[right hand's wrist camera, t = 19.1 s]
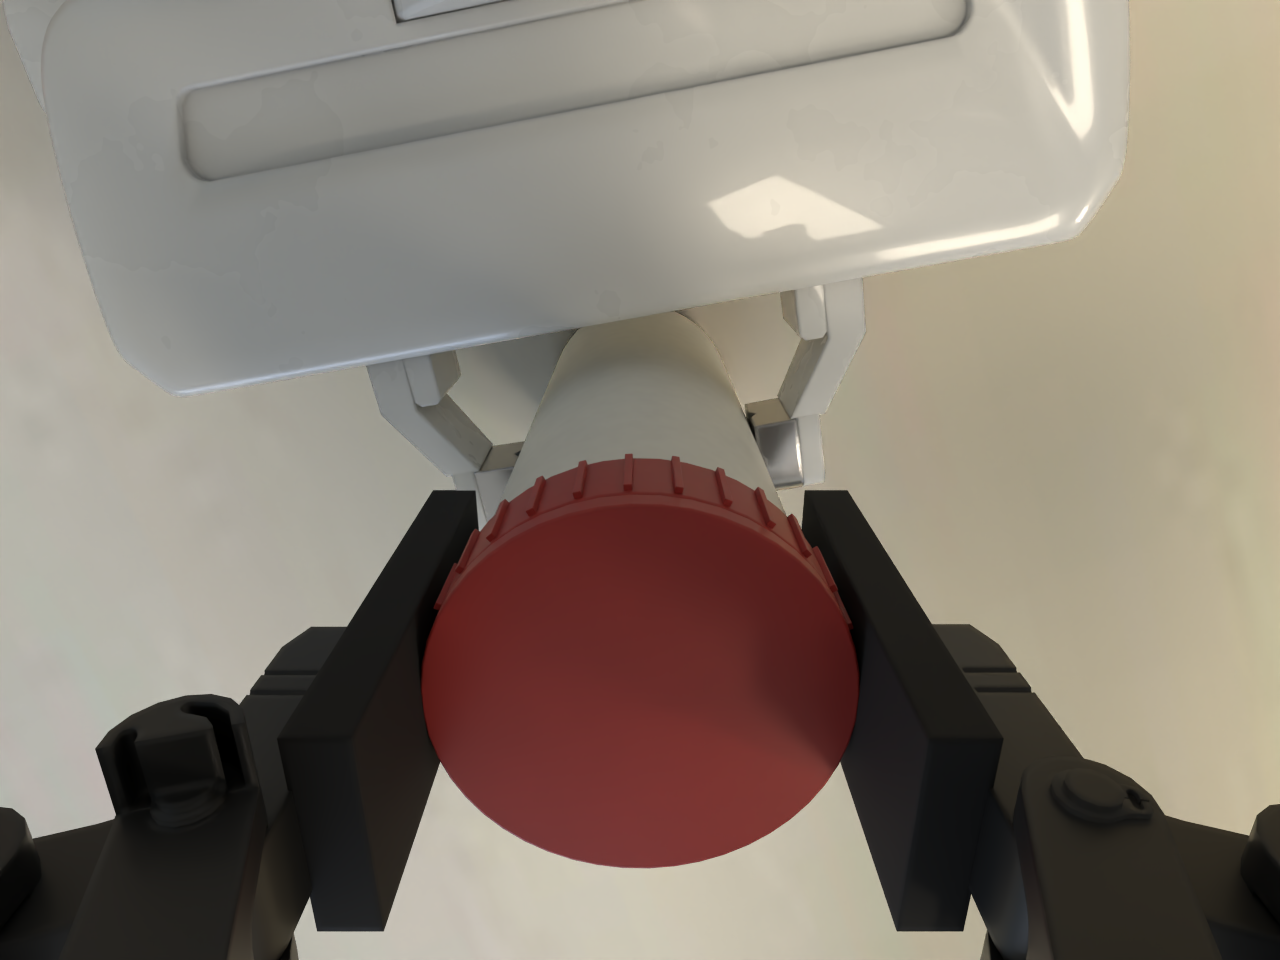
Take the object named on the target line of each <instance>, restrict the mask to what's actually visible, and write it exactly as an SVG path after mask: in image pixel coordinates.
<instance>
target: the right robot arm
mask: <svg viewBox="0 0 1280 960" xmlns="http://www.w3.org/2000/svg"><path fill="white" fill-rule="evenodd" d="M474 529H477V530H478V531H479V525H478V513H477V501H476V490H433V491H432V493H431V495H430V496H429V498H428V499H427V501H426V503H425V504H424V506H423V507H422V509H421V510H420V512H419V514H418V515H417V517H416V518H415V520H414V522H413V523H412V525H411V526H410V528H409V529H408V531H407V533H406V534H405V536H404V537H403V539H402V541H401V542H400V544H399V545H398V547H397V549H396V550H395V552H394V553H393V555H392V556H391V558H390V560H389V561H388V563H387V564H386V566H385V568H384V569H383V571H382V572H381V574H380V575H379V577H378V579H377V580H376V582H375V583H374V585H373V587H372V588H371V590H370V591H369V593H368V594H367V596H366V598H365V599H364V601H363V602H362V604H361V606H360V607H359V609H358V610H357V612H356V614H355V615H354V617H353V618H352V620H351V621H350V623H349V625H348V626H347V627H310V628H309V629H307V630H306V631H305V632H303V633H302V634H300V635H299V636H297V637H296V638H294V639H293V640H292V641H290V642H289V643H287V644H286V645H284V646H283V647H282V648H281V649H280V651H279V652H278V653H277V655H276V656H275V657H274V659H273V660H272V661H271V663H270V664H269V665H268V667H267V668H266V670H265V674H264V675H261V676H260V678H259V679H258V680H257V682H256V683H255V684H254V686H253V687H252V688H251V690H250V695H246V697H245V698H244V699H243V701H242V702H241V703H240V705H238V704H237V703H236V702H235V701H234V700H232V699H231V698H227V697H222V696H218V695H213V694H204V695H187V696H182V697H179V698H175V699H171V700H167V701H163V702H159V703H157V704H154V705H152V706H150V707H148V708H146V709H144V710H141V711H139V712H137V713H135V714H133V715H131V716H129V717H128V718H127V719H125V720H124V721H122V722H121V723H120V724H118V725H117V726H115V727H114V728H113V729H111V730H110V731H109V732H108V733H107V734H106V736H105V737H104V738H103V740H102V741H101V742H100V743H99V745H98V746H97V747H96V748H95V750H96V753H97V756H98V759H99V762H100V765H101V769H102V772H103V775H104V778H105V781H106V784H107V788H108V791H109V794H110V797H111V800H112V803H113V806H114V810H115V813H116V816H115V819H113V820H109V821H106V822H103V823H99V824H95V825H91V826H87V827H82V828H78V829H74V830H69V831H65V832H60V833H56V834H52V835H47V836H43V837H39V838H34V839H32V836H31V834H30V831H29V828H28V826H27V823H26V820H25V818H24V817H22V816H21V815H20V814H19V813H17V812H16V811H15V810H13V809H12V808H3V807H0V960H299V959H298V952H297V946H296V941H295V937H294V930H295V928H296V926H297V924H298V922H299V919H300V917H301V915H302V913H303V910H304V908H305V906H306V904H307V902H308V899H309V897H310V899H311V904H312V909H313V913H314V918H315V923H316V928H317V931H384V929H385V926H386V923H387V920H388V917H389V914H390V911H391V908H392V905H393V902H394V899H395V896H396V893H397V890H398V887H399V884H400V881H401V878H402V875H403V872H404V869H405V866H406V863H407V860H408V857H409V854H410V851H411V848H412V845H413V842H414V839H415V836H416V833H417V830H418V827H419V824H420V821H421V818H422V815H423V812H424V809H425V806H426V803H427V800H428V797H429V794H430V791H431V788H432V785H433V782H434V779H435V776H436V773H437V770H438V767H439V764H440V760H439V758H438V756H437V754H436V752H435V749H434V747H433V745H432V742H431V740H430V737H429V735H428V731H427V727H426V723H425V718H424V711H423V703H422V694H421V667H422V660H423V656H424V651H425V647H426V641H427V638H428V636H429V634H430V631H431V629H432V626H433V624H434V621H435V619H436V616H437V614H438V612H439V610H436V609H434V606H435V603H436V601H437V599H438V597H439V595H440V592H441V590H442V588H443V586H444V584H445V582H446V580H447V577H448V575H449V573H450V571H451V569H452V567H453V565H454V563H456V564H458V562H459V560H460V557H461V555H462V553H463V551H464V549H465V547H466V544H467V542H468V540H469V538H470V536H471V533H472V532H473V531H474ZM802 532H803V535H804V537H805V539H806V540H807V541H808V543H809V544H810V546H811V547H812V548H814V547H816V546H818V548H819V550H820V552H821V554H822V556H823V558H824V560H825V563H826V565H827V567H828V569H829V571H830V573H831V576H832V578H833V580H834V582H835V584H836V586H837V588H838V590H837V591H838V594H839V596H840V598H841V600H842V602H843V605H844V607H845V609H846V611H847V613H848V615H849V618H850V620H851V622H852V625H853V629H852V630H850V633H851V636H852V639H853V642H854V645H855V648H856V654H857V660H858V666H859V672H860V686H859V699H858V707H857V715H856V722H855V725H854V728H853V731H852V735H851V738H850V741H849V744H848V746H847V748H846V750H845V752H844V754H843V756H842V758H841V760H840V762H841V765H842V768H843V771H844V774H845V777H846V780H847V783H848V786H849V789H850V792H851V795H852V798H853V801H854V804H855V807H856V810H857V813H858V816H859V819H860V822H861V825H862V828H863V831H864V834H865V837H866V840H867V843H868V846H869V849H870V852H871V855H872V858H873V861H874V864H875V867H876V870H877V873H878V876H879V879H880V882H881V885H882V888H883V891H884V894H885V897H886V900H887V903H888V906H889V909H890V912H891V915H892V918H893V921H894V924H895V927H896V930H897V931H963V930H964V925H965V921H966V916H967V911H968V906H969V901H970V897H971V894H972V896H973V899H974V901H975V903H976V905H977V907H978V910H979V912H980V914H981V916H982V919H983V921H984V923H985V925H986V927H987V933H986V937H985V941H984V946H983V950H982V955H981V959H980V960H1280V804H1277V805H1269V806H1268V807H1267V808H1266V809H1264V810H1263V811H1262V812H1260V813H1259V814H1258V815H1257V817H1256V819H1255V822H1254V825H1253V827H1252V830H1251V833H1250V835H1249V836H1248V835H1244V834H1239V833H1235V832H1230V831H1226V830H1222V829H1217V828H1213V827H1208V826H1204V825H1200V824H1195V823H1191V822H1186V821H1182V820H1179V819H1176V818H1172V817H1169V816H1166V815H1164V813H1163V812H1162V810H1161V809H1160V807H1159V806H1158V804H1157V803H1156V801H1155V800H1154V798H1153V797H1152V795H1151V794H1149V793H1148V792H1147V791H1146V790H1145V789H1143V788H1142V787H1141V786H1140V785H1139V784H1137V783H1136V782H1135V781H1134V780H1132V779H1131V778H1130V777H1128V776H1126V775H1124V774H1122V773H1120V772H1118V771H1116V770H1114V769H1112V768H1110V767H1108V766H1107V765H1104V764H1101V763H1098V762H1094V761H1091V760H1087V759H1084V758H1083V757H1082V756H1081V754H1080V753H1079V752H1078V750H1077V749H1076V747H1075V746H1074V745H1073V743H1072V742H1071V741H1070V739H1069V738H1068V737H1067V735H1066V734H1065V733H1064V731H1063V730H1062V729H1061V727H1060V726H1059V725H1058V723H1057V722H1056V721H1055V719H1054V718H1053V717H1052V715H1051V714H1050V713H1049V711H1048V710H1047V708H1046V707H1045V706H1044V704H1043V703H1042V702H1041V700H1040V699H1039V698H1038V696H1037V695H1036V694H1035V693H1032V692H1031V687H1030V686H1029V684H1028V683H1027V682H1026V680H1025V679H1024V678H1023V676H1022V675H1021V674H1020V673H1017V671H1016V667H1015V665H1014V664H1013V663H1012V661H1011V660H1010V659H1009V657H1008V656H1007V655H1006V653H1005V652H1004V651H1003V649H1002V648H1001V647H1000V645H999V644H997V643H996V642H995V641H993V640H992V639H990V638H989V637H987V636H986V635H984V634H983V633H981V632H980V631H979V630H977V629H976V628H974V627H973V626H971V625H970V624H931V622H930V621H929V619H928V617H927V616H926V614H925V613H924V611H923V609H922V608H921V606H920V605H919V603H918V602H917V600H916V598H915V597H914V595H913V594H912V592H911V590H910V589H909V587H908V586H907V584H906V583H905V581H904V579H903V578H902V576H901V575H900V573H899V571H898V570H897V568H896V567H895V565H894V564H893V562H892V560H891V559H890V557H889V556H888V554H887V552H886V551H885V549H884V548H883V546H882V544H881V543H880V541H879V540H878V538H877V537H876V535H875V533H874V532H873V530H872V529H871V527H870V525H869V524H868V522H867V521H866V519H865V518H864V516H863V514H862V513H861V511H860V510H859V508H858V506H857V505H856V503H855V502H854V500H853V499H852V497H851V495H850V494H849V492H848V491H847V490H805V495H804V507H803V519H802Z"/></svg>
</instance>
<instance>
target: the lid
mask: <svg viewBox="0 0 1280 960" xmlns="http://www.w3.org/2000/svg"><path fill="white" fill-rule="evenodd" d="M837 590H838V588H837V586H836V584H835V582H834V580H833V578H832V576H831V573H830V571H829V569H828V567H827V565H826V563H825V560H824V558H823V556H822V554H821V552H820V550H819V548H818V546H816V547H814V548H812V547H811V546H810V544H809V543H808V541H807V540H806V539H805V537H804V535H803V532H802V530H801V528H800V526H799V523H798V521H797V519H796V517H795V516H794V515H793V514H791V515H789V516H788V517H787V516H786V515H785V514H784V513H783V512H782V511H781V510H780V509H779V508H778V507H776V506H775V505H774V504H773V503H771V502H770V501H769V500H767V498H766V495H765V492H764V490H763V489H761V488H760V487H757V488H756V490H753V489H751V488H749V487H748V486H746V485H744V484H742V483H741V482H739V481H737V480H735V479H733V478H730V477H728V476H726V474H725V471H724V469H722V468H719V467H717V469H716V471H714V470H711V469H707V468H703V467H700V466H696V465H692V464H689V463H685V462H680V457H678V456H672V459H671V460H664V459H647V458H633V454H625V459H618V460H608V461H601V462H597V463H593V464H587V461H586V460H583V461H580V462H579V464H578V467H576V468H573V469H570V470H568V471H565V472H562V473H559V474H557V475H554V476H551V477H550V478H548V479H546V480H545V478H544V477H543V476H540V477H538V478H537V479H536V481H535V484H534V486H532V487H530V488H528V489H527V490H526V491H524V492H523V493H521V494H520V495H518V496H517V497H516V498H514V499H513V500H511V501H510V502H508V501H507V500H506V499H504V500H503V501H502V502H500V504H499V507H498V509H497V511H496V514H495V515H494V516H493V517H492V518H491V519H490V520H489V521H488V522H487V524H486V525H485V526H484V527H483V529H482V530H481V531H478V530H477V529H474V531H473V532H472V533H471V536H470V538H469V540H468V542H467V544H466V547H465V549H464V551H463V553H462V555H461V557H460V560H459V562H458V564H456V563H454V565H453V567H452V569H451V571H450V573H449V575H448V577H447V580H446V582H445V584H444V586H443V588H442V590H441V592H440V595H439V597H438V599H437V601H436V603H435V606H434V609H436V610H439V612H438V614H437V616H436V619H435V621H434V624H433V626H432V629H431V631H430V634H429V636H428V638H427V641H426V647H425V651H424V656H423V660H422V667H421V694H422V703H423V711H424V718H425V723H426V727H427V731H428V735H429V737H430V740H431V742H432V745H433V747H434V749H435V752H436V754H437V756H438V758H439V760H440V762H441V763H442V765H443V767H444V768H445V770H446V772H447V773H448V775H449V777H450V778H451V779H452V781H453V782H454V783H455V784H456V786H457V787H458V788H459V789H460V791H461V792H462V793H463V794H464V795H465V797H466V798H467V799H468V800H469V801H471V802H472V803H473V804H474V805H475V806H476V807H477V808H478V809H479V810H480V811H481V812H482V813H483V814H484V815H486V816H487V817H488V818H490V819H491V820H492V821H494V822H495V823H496V824H498V825H499V826H500V827H502V828H503V829H505V830H506V831H508V832H510V833H512V834H513V835H515V836H517V837H518V838H520V839H522V840H524V841H525V842H528V843H530V844H532V845H534V846H537V847H539V848H541V849H543V850H546V851H548V852H551V853H554V854H557V855H560V856H563V857H566V858H569V859H573V860H577V861H582V862H586V863H591V864H596V865H603V866H612V867H620V868H658V867H670V866H678V865H683V864H689V863H695V862H700V861H703V860H707V859H710V858H714V857H717V856H721V855H724V854H727V853H729V852H732V851H734V850H737V849H739V848H742V847H744V846H747V845H749V844H751V843H753V842H754V841H756V840H758V839H760V838H762V837H764V836H766V835H768V834H769V833H771V832H773V831H774V830H775V829H777V828H778V827H780V826H781V825H783V824H784V823H786V822H787V821H788V820H790V819H791V818H792V817H793V816H795V815H796V814H797V813H798V812H799V811H800V810H801V809H803V808H804V807H805V806H806V805H807V804H808V803H809V802H810V801H811V800H812V799H813V798H814V797H815V796H816V794H817V793H818V792H819V791H820V790H821V789H822V788H823V786H824V785H825V784H826V783H827V781H828V780H829V778H830V777H831V775H832V774H833V772H834V771H835V769H836V768H837V766H838V765H839V763H840V760H841V758H842V756H843V754H844V752H845V750H846V748H847V746H848V744H849V741H850V738H851V735H852V731H853V728H854V725H855V722H856V715H857V707H858V699H859V686H860V672H859V666H858V660H857V654H856V648H855V645H854V642H853V639H852V636H851V633H850V630H852V629H853V625H852V622H851V620H850V618H849V615H848V613H847V611H846V609H845V607H844V605H843V602H842V600H841V598H840V596H839V594H838V591H837Z"/></svg>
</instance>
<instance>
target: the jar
mask: <svg viewBox="0 0 1280 960" xmlns="http://www.w3.org/2000/svg"><path fill="white" fill-rule="evenodd" d="M625 454H633V458H647V459H664V460H671V459H672V456H678V457H680V462H685V463H689V464H692V465H696V466H700V467H703V468H707V469H711V470H714V471H716V469H717V467H719V468H722V469H724V471H725V474H726V476H728V477H730V478H733V479H735V480H737V481H739V482H741V483H742V484H744V485H746V486H748V487H749V488H751V489H753V490H756V488H757V487H760V488H761V489H763V490H764V492H765V495H766V498H767V500H769V501H770V502H771V503H773V504H774V505H775V506H776V507H778V508H779V509H780V510H781V511H782V512H783V513H784V514H785V511H784V509H783V506H782V504H781V502H780V499H779V497H778V494H777V492H776V490H775V487H774V485H773V482H772V480H771V477H770V475H769V473H768V470H767V468H766V465H765V463H764V461H763V458H762V456H761V453H760V451H759V448H758V446H757V444H756V441H755V439H754V436H753V434H752V432H751V429H750V427H749V424H748V422H747V419H746V417H745V415H744V412H743V410H742V407H741V405H740V402H739V400H738V398H737V395H736V393H735V390H734V388H733V386H732V383H731V381H730V378H729V376H728V373H727V371H726V369H725V366H724V364H723V361H722V359H721V357H720V355H719V352H718V350H717V349H716V347H715V345H714V344H713V342H712V341H711V339H710V338H709V337H708V336H707V335H706V333H705V332H704V331H703V330H702V329H701V328H700V327H698V326H697V325H696V324H695V323H694V322H692V321H691V320H689V319H688V318H686V317H685V316H683V315H681V314H679V313H677V312H675V311H671V312H666V313H660V314H654V315H649V316H643V317H637V318H632V319H626V320H621V321H615V322H609V323H604V324H598V325H592V326H587V327H581V328H580V329H579V330H577V332H576V333H575V334H574V335H573V336H572V337H571V339H570V340H569V341H568V343H567V345H566V346H565V348H564V349H563V351H562V353H561V356H560V358H559V360H558V362H557V365H556V367H555V370H554V372H553V374H552V377H551V379H550V382H549V384H548V387H547V389H546V391H545V394H544V396H543V399H542V401H541V403H540V406H539V408H538V411H537V413H536V415H535V418H534V420H533V423H532V425H531V428H530V430H529V432H528V435H527V437H526V440H525V442H524V444H523V447H522V449H521V452H520V454H519V457H518V459H517V461H516V464H515V466H514V469H513V471H512V473H511V476H510V478H509V481H508V483H507V485H506V488H505V490H504V493H503V495H502V498H501V500H500V502H502V501H503V500H504V499H506V500H507V501H508V502H510V501H511V500H513V499H514V498H516V497H517V496H518V495H520V494H521V493H523V492H524V491H526V490H527V489H528V488H530V487H532V486H534V484H535V481H536V479H537V478H538V477H540V476H543V477H544V478H545V480H546V479H548V478H550V477H551V476H554V475H557V474H559V473H562V472H565V471H568V470H570V469H573V468H576V467H578V464H579V462H580V461H583V460H586V461H587V464H593V463H597V462H601V461H608V460H618V459H625ZM500 502H499V504H500ZM498 507H499V505H498ZM498 507H497V509H498ZM496 511H497V510H496ZM495 514H496V512H495ZM495 514H494V515H495ZM785 515H786V514H785Z"/></svg>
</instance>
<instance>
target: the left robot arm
mask: <svg viewBox="0 0 1280 960" xmlns="http://www.w3.org/2000/svg"><path fill="white" fill-rule="evenodd" d="M3 7H4V13H5V17H6V21H7V25H8V29H9V32H10V34H11V37H12V39H13V41H14V44H15V46H16V49H17V51H18V54H19V56H20V58H21V61H22V63H23V66H24V68H25V70H26V73H27V75H28V78H29V80H30V83H31V85H32V87H33V90H34V92H35V95H36V97H37V100H38V101H39V103H40V105H41V107H42V109H43V111H44V112H45V114H46V116H47V121H48V126H49V131H50V136H51V140H52V144H53V149H54V153H55V157H56V161H57V165H58V170H59V174H60V178H61V182H62V186H63V189H64V193H65V197H66V201H67V204H68V208H69V212H70V215H71V219H72V222H73V226H74V229H75V232H76V236H77V239H78V242H79V246H80V249H81V252H82V255H83V259H84V262H85V265H86V268H87V271H88V274H89V277H90V280H91V283H92V287H93V290H94V293H95V296H96V298H97V301H98V304H99V307H100V310H101V313H102V315H103V318H104V321H105V324H106V327H107V329H108V331H109V334H110V336H111V338H112V340H113V343H114V345H115V347H116V349H117V351H118V352H119V354H120V356H121V357H122V358H123V359H124V360H125V362H127V363H128V364H129V365H131V366H132V367H133V368H135V369H136V370H137V371H138V372H140V373H141V374H142V375H144V376H145V377H146V378H148V379H149V380H150V381H152V382H153V383H154V384H156V385H157V386H158V387H160V388H161V389H163V390H164V391H166V392H167V393H169V394H170V395H173V396H176V397H191V396H197V395H203V394H209V393H215V392H220V391H226V390H231V389H237V388H243V387H248V386H254V385H260V384H265V383H271V382H277V381H282V380H288V379H293V378H299V377H305V376H310V375H316V374H322V373H327V372H333V371H339V370H344V369H350V368H355V367H361V366H366V367H367V370H368V373H369V376H370V380H371V383H372V386H373V389H374V393H375V396H376V399H377V402H378V406H379V409H380V412H381V415H382V416H383V417H384V418H385V419H386V420H387V421H388V422H389V423H390V424H391V425H393V426H394V427H395V428H396V429H397V430H398V431H399V432H400V433H401V434H402V435H403V436H404V437H405V438H406V439H407V440H408V441H409V442H410V443H412V444H413V445H414V446H415V447H416V448H417V449H418V450H419V451H420V452H421V453H422V454H423V455H424V456H425V457H426V458H427V459H428V460H430V461H431V462H432V463H433V464H434V465H435V466H436V467H437V468H438V469H439V470H440V471H441V472H442V473H443V474H444V475H445V476H446V477H447V476H452V478H453V481H454V484H455V488H456V490H476V501H477V513H478V525H479V531H481V530H482V529H483V527H484V526H485V525H486V524H487V522H488V521H489V520H490V519H491V518H492V517H493V516H494V514H495V512H496V510H497V507H498V505H499V502H500V500H501V498H502V495H503V493H504V490H505V488H506V485H507V483H508V481H509V478H510V476H511V473H512V471H513V469H514V466H515V464H516V461H517V459H518V457H519V454H520V452H521V449H522V447H523V444H524V442H525V441H523V442H516V443H510V444H503V445H496V446H492V445H493V444H492V443H491V442H490V441H489V440H488V438H487V437H486V436H485V435H484V434H483V433H482V432H481V431H480V430H479V428H478V427H477V426H476V425H475V424H474V423H473V422H472V421H471V420H470V419H469V417H468V416H467V415H466V414H465V413H464V412H463V411H462V410H461V409H460V408H459V406H458V405H457V404H456V403H455V402H454V401H453V400H452V399H451V398H450V396H449V395H448V394H447V392H448V391H449V390H450V389H451V387H452V386H453V385H454V384H455V383H456V381H457V380H458V379H459V377H460V376H461V372H460V368H459V364H458V360H457V356H456V352H455V350H457V349H463V348H468V347H474V346H480V345H485V344H491V343H496V342H502V341H508V340H513V339H519V338H525V337H530V336H536V335H542V334H547V333H553V332H559V331H564V330H570V329H575V328H581V327H587V326H592V325H598V324H604V323H609V322H615V321H621V320H626V319H632V318H637V317H643V316H649V315H654V314H660V313H666V312H671V311H677V310H683V309H688V308H694V307H699V306H705V305H711V304H716V303H722V302H728V301H733V300H739V299H745V298H750V297H756V296H762V295H767V294H773V293H778V292H780V296H781V304H782V312H783V318H784V320H785V321H786V322H787V323H788V324H789V325H790V326H791V327H792V328H793V330H794V331H795V332H796V333H797V334H798V335H799V336H800V337H801V341H800V343H799V345H798V348H797V350H796V353H795V355H794V357H793V360H792V362H791V365H790V367H789V369H788V372H787V374H786V376H785V379H784V381H783V384H782V386H781V388H780V391H779V393H778V398H775V399H769V400H764V401H759V402H754V403H749V404H745V411H746V419H747V422H748V424H749V427H750V429H751V432H752V434H753V436H754V439H755V441H756V444H757V446H758V448H759V451H760V453H761V456H762V458H763V461H764V463H765V465H766V468H767V470H768V473H769V475H770V477H771V480H772V482H773V485H774V487H775V490H776V491H778V490H784V489H791V488H797V487H803V486H810V485H816V484H822V483H824V482H825V464H824V454H823V444H822V433H821V423H820V414H825V413H826V411H827V409H828V407H829V405H830V403H831V401H832V399H833V397H834V395H835V393H836V391H837V389H838V387H839V385H840V383H841V381H842V379H843V377H844V375H845V373H846V371H847V369H848V367H849V365H850V363H851V361H852V359H853V357H854V355H855V353H856V351H857V349H858V347H859V345H860V343H861V341H862V339H863V337H864V335H865V333H866V325H865V310H864V294H863V279H862V278H863V277H869V276H874V275H880V274H886V273H891V272H897V271H902V270H908V269H914V268H919V267H925V266H931V265H936V264H942V263H948V262H953V261H959V260H965V259H970V258H976V257H981V256H987V255H993V254H998V253H1004V252H1010V251H1015V250H1021V249H1027V248H1032V247H1038V246H1043V245H1049V244H1055V243H1060V242H1065V241H1069V240H1071V239H1074V238H1076V237H1077V236H1079V235H1080V234H1081V233H1082V232H1083V231H1084V230H1085V228H1086V227H1087V226H1088V225H1089V223H1090V222H1091V221H1092V219H1093V218H1094V217H1095V215H1096V214H1097V212H1098V211H1099V210H1100V208H1101V207H1102V205H1103V204H1104V202H1105V201H1106V199H1107V198H1108V196H1109V195H1110V193H1111V192H1112V190H1113V189H1114V187H1115V186H1116V184H1117V182H1118V181H1119V179H1120V176H1121V174H1122V171H1123V168H1124V162H1125V157H1126V152H1127V140H1128V126H1129V103H1130V13H1129V0H3Z"/></svg>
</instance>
